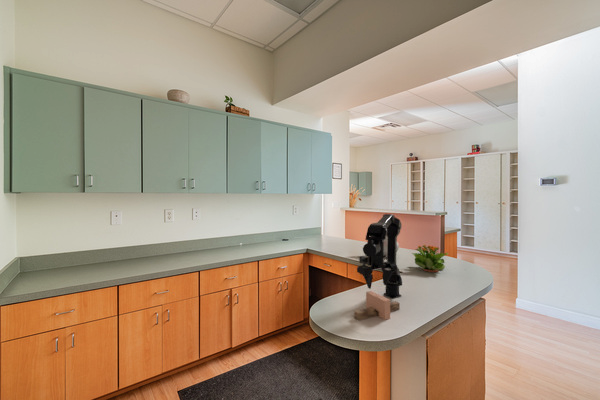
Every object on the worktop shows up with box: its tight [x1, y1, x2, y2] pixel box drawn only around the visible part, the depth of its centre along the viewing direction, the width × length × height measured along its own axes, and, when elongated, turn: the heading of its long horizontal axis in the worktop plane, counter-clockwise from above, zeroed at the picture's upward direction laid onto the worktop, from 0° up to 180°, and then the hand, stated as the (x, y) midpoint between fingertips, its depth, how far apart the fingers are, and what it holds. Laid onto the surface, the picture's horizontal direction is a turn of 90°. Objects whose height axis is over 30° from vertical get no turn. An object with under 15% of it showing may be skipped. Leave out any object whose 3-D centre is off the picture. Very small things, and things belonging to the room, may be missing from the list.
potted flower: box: [412, 244, 449, 273], centre depth 189 cm, size 25×24×18 cm
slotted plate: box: [365, 290, 391, 320], centre depth 122 cm, size 3×12×8 cm, turn 27°
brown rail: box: [353, 300, 400, 321], centre depth 122 cm, size 24×2×3 cm, turn 117°
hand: (377, 286), depth 123 cm, fingers open, 9 cm apart
